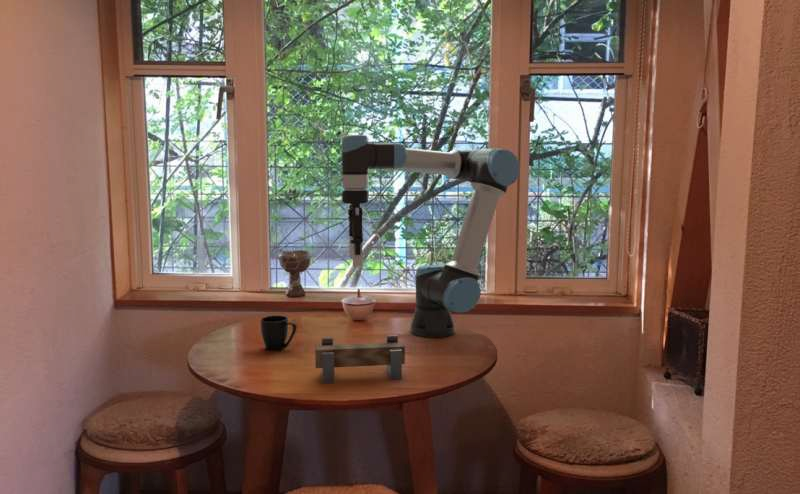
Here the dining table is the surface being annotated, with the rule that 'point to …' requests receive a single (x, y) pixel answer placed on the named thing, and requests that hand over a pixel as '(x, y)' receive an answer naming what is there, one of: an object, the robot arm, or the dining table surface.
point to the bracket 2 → (394, 360)
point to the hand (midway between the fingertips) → (355, 262)
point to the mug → (276, 332)
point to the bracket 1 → (328, 362)
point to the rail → (359, 354)
